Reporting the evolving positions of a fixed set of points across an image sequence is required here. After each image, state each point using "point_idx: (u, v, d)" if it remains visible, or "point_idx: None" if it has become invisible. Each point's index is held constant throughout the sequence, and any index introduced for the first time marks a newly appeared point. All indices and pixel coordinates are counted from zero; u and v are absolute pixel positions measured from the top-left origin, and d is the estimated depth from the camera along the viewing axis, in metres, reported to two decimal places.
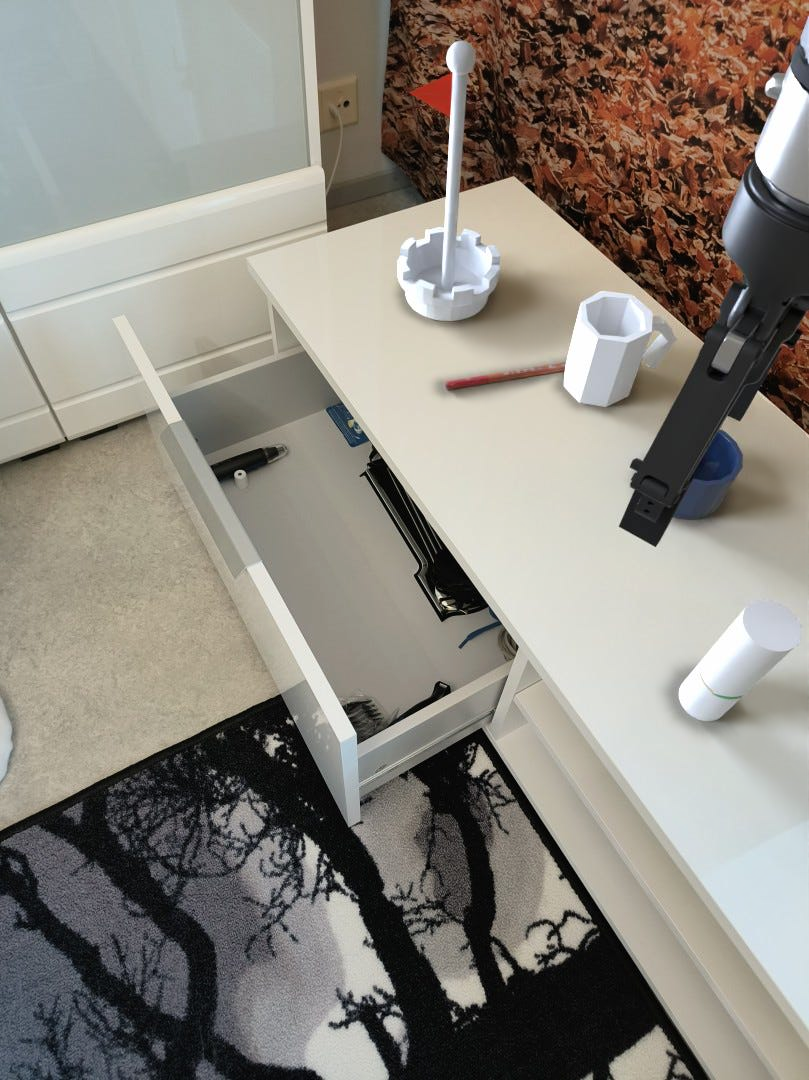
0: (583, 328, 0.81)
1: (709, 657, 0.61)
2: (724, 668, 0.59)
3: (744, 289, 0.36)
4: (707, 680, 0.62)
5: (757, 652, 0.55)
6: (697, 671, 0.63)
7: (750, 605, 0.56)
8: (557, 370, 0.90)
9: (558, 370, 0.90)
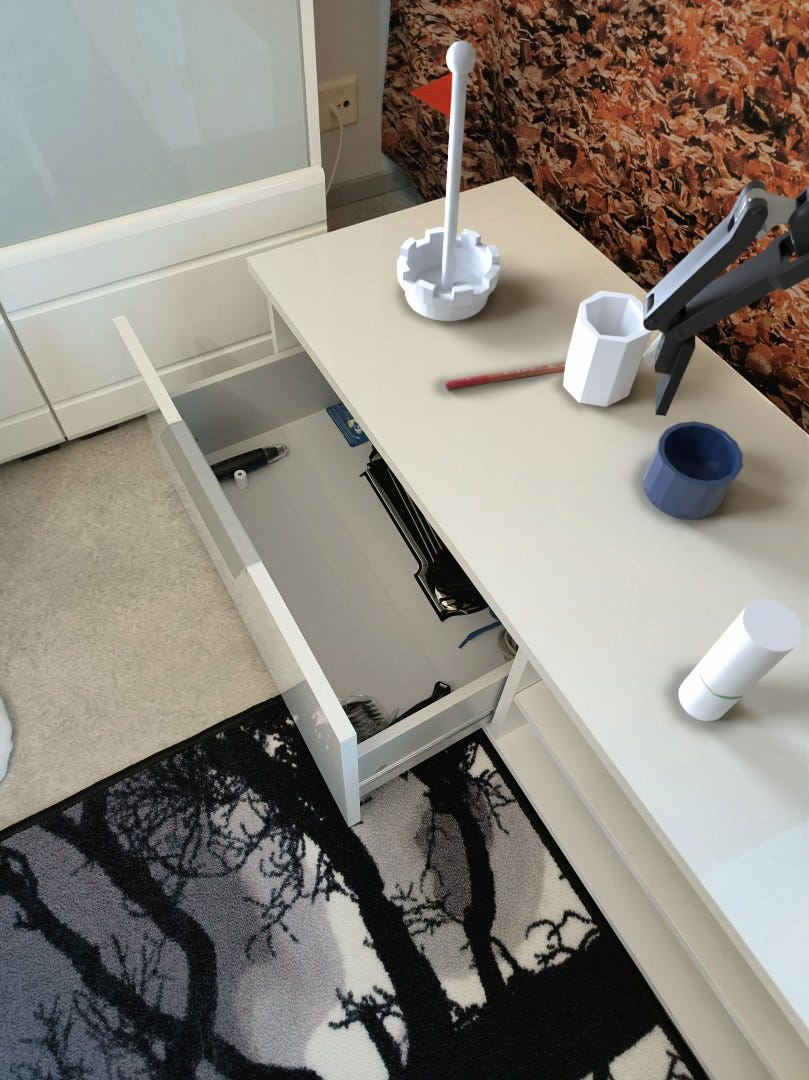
0: (583, 328, 0.81)
1: (709, 657, 0.61)
2: (724, 668, 0.59)
3: None
4: (707, 680, 0.62)
5: (757, 652, 0.55)
6: (697, 671, 0.63)
7: (750, 605, 0.56)
8: (557, 370, 0.90)
9: (558, 370, 0.90)
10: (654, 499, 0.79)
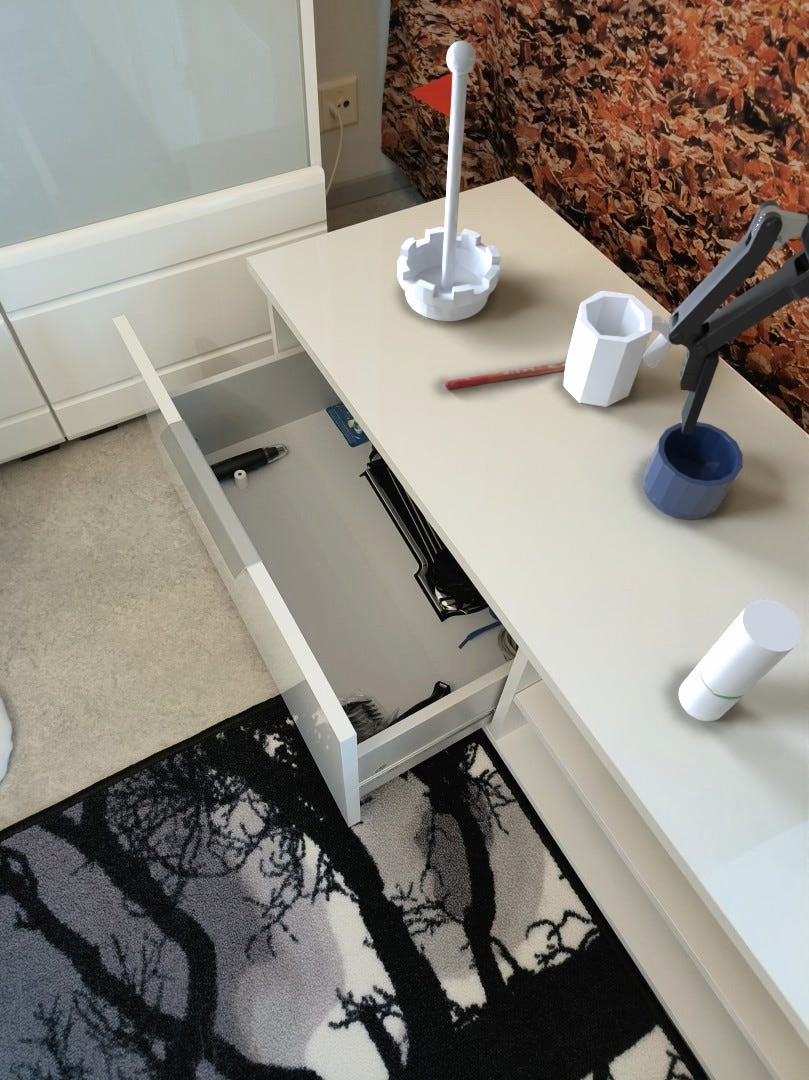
0: (583, 328, 0.81)
1: (709, 657, 0.61)
2: (724, 668, 0.59)
3: None
4: (707, 680, 0.62)
5: (757, 652, 0.55)
6: (697, 671, 0.63)
7: (750, 605, 0.56)
8: (557, 370, 0.90)
9: (558, 370, 0.90)
10: (654, 499, 0.79)
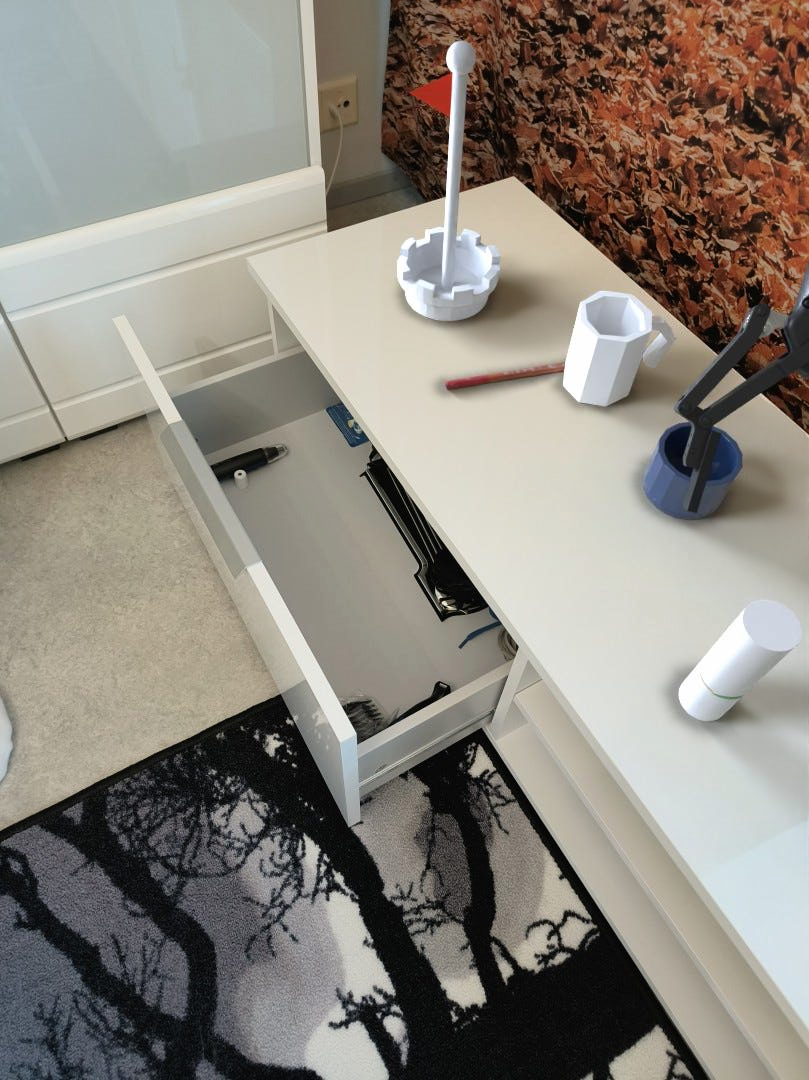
0: (583, 328, 0.81)
1: (709, 657, 0.61)
2: (724, 668, 0.59)
3: None
4: (707, 680, 0.62)
5: (757, 652, 0.55)
6: (697, 671, 0.63)
7: (750, 605, 0.56)
8: (557, 370, 0.90)
9: (557, 370, 0.90)
10: (654, 499, 0.79)
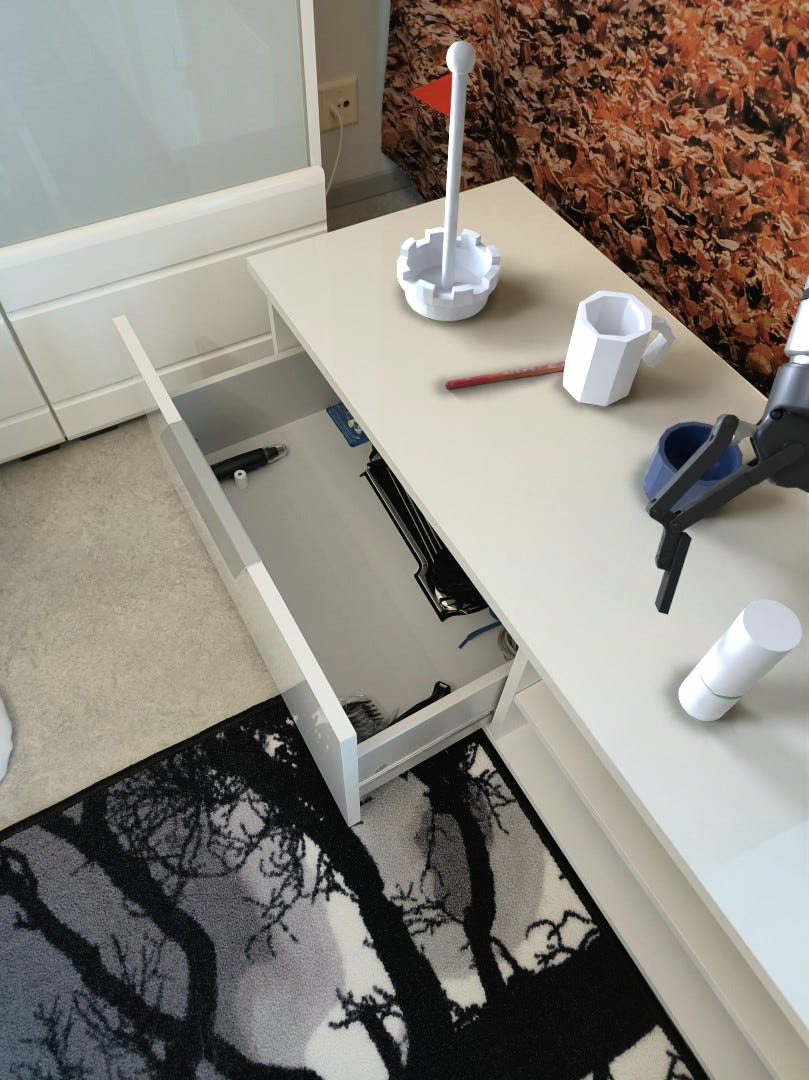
0: (582, 327, 0.81)
1: (709, 657, 0.61)
2: (724, 668, 0.59)
3: None
4: (707, 680, 0.62)
5: (757, 652, 0.55)
6: (697, 671, 0.63)
7: (750, 605, 0.56)
8: (557, 370, 0.90)
9: (557, 370, 0.90)
10: None
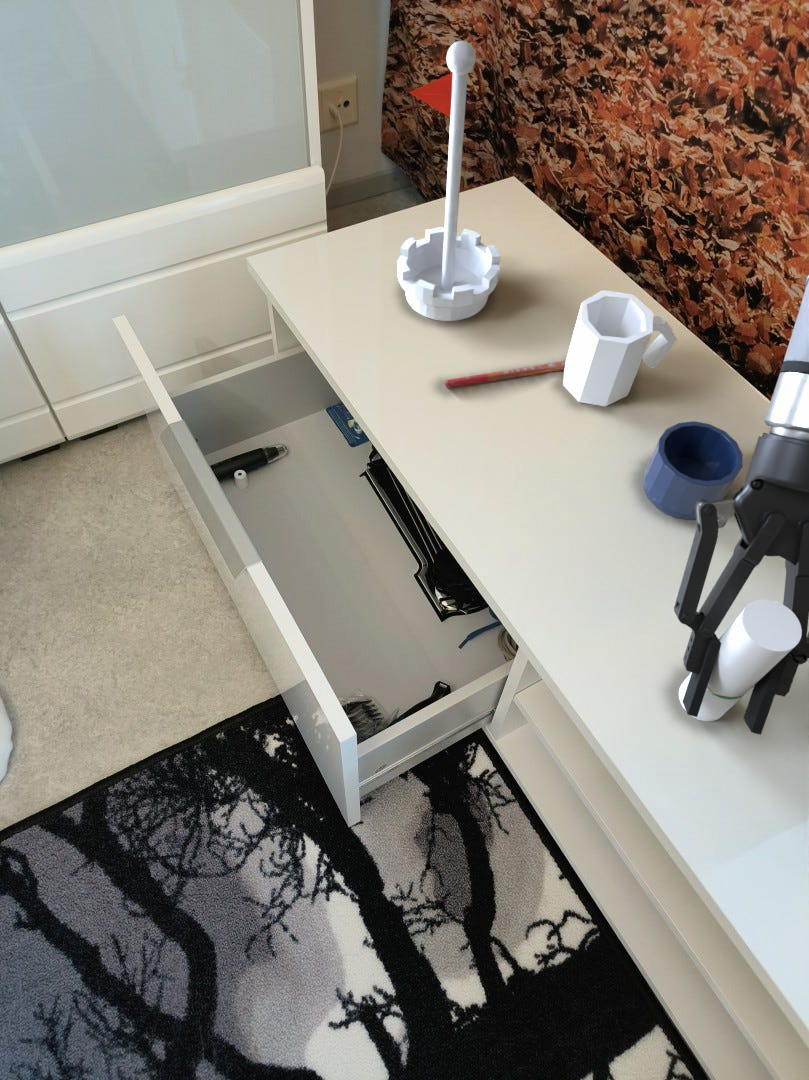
0: (584, 328, 0.80)
1: None
2: (724, 668, 0.59)
3: None
4: None
5: (756, 652, 0.55)
6: None
7: (750, 605, 0.56)
8: (557, 369, 0.90)
9: (557, 369, 0.90)
10: (654, 499, 0.79)
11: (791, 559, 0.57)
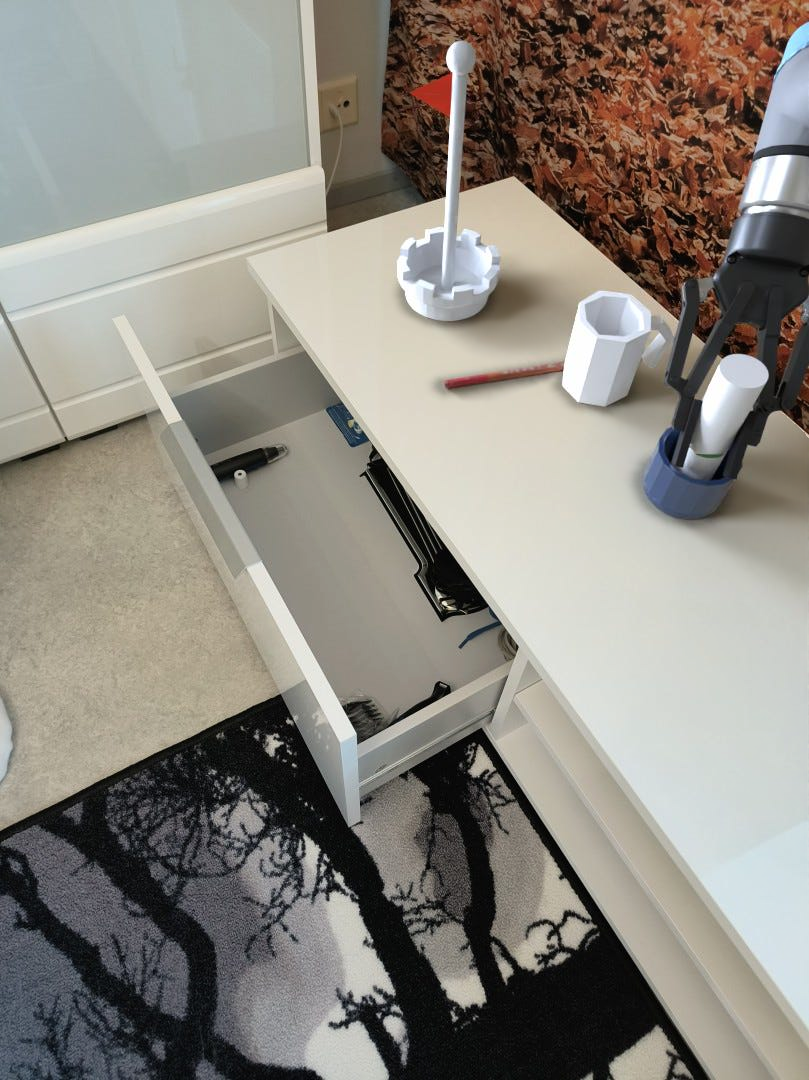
0: (582, 328, 0.81)
1: None
2: (705, 422, 0.70)
3: None
4: (692, 441, 0.73)
5: (731, 393, 0.66)
6: None
7: (726, 358, 0.67)
8: (556, 369, 0.90)
9: (557, 369, 0.90)
10: (654, 499, 0.79)
11: (761, 323, 0.68)
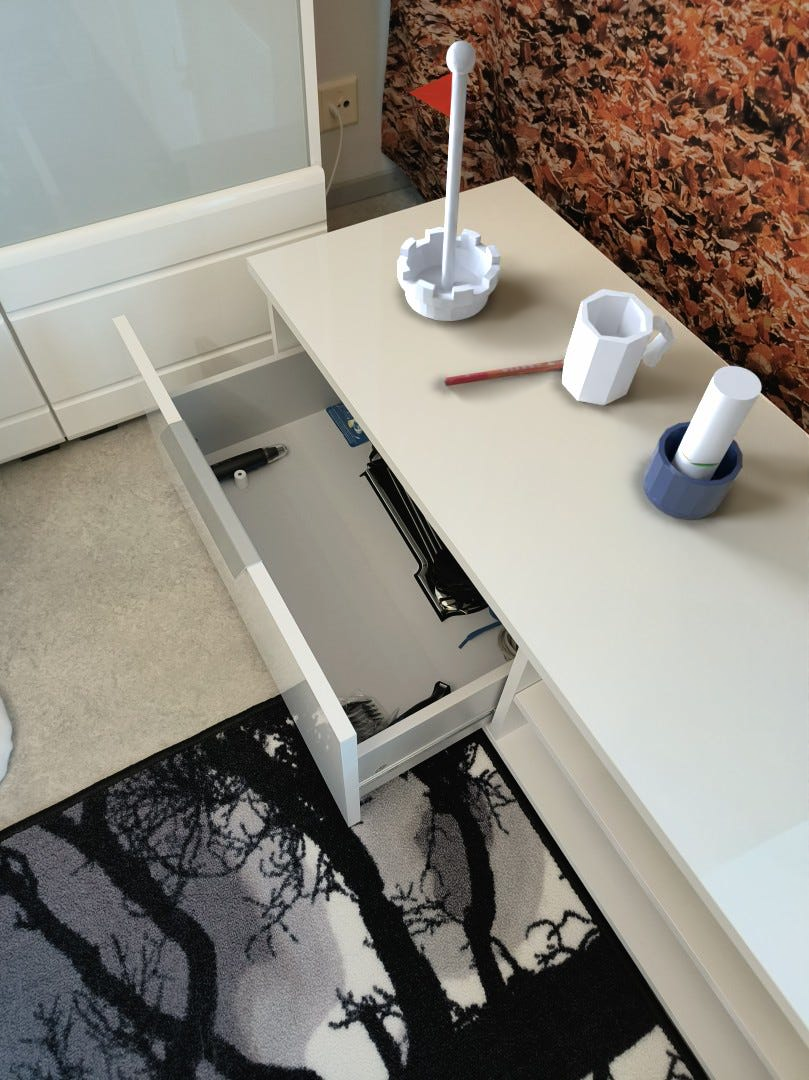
0: (584, 328, 0.80)
1: (688, 430, 0.73)
2: (699, 432, 0.71)
3: None
4: (686, 451, 0.74)
5: (725, 404, 0.67)
6: (678, 449, 0.76)
7: (720, 370, 0.68)
8: (556, 367, 0.89)
9: (557, 367, 0.89)
10: (654, 499, 0.79)
11: None
